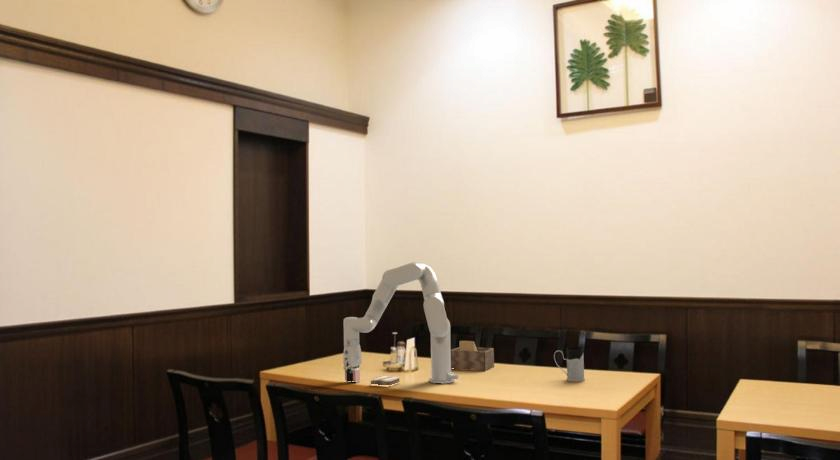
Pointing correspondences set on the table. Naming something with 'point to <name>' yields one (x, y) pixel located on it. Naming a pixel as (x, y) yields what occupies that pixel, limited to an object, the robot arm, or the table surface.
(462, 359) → the brown storage basket
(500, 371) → the table surface
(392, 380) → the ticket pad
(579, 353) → the glass holder
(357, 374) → the pink block
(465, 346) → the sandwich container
